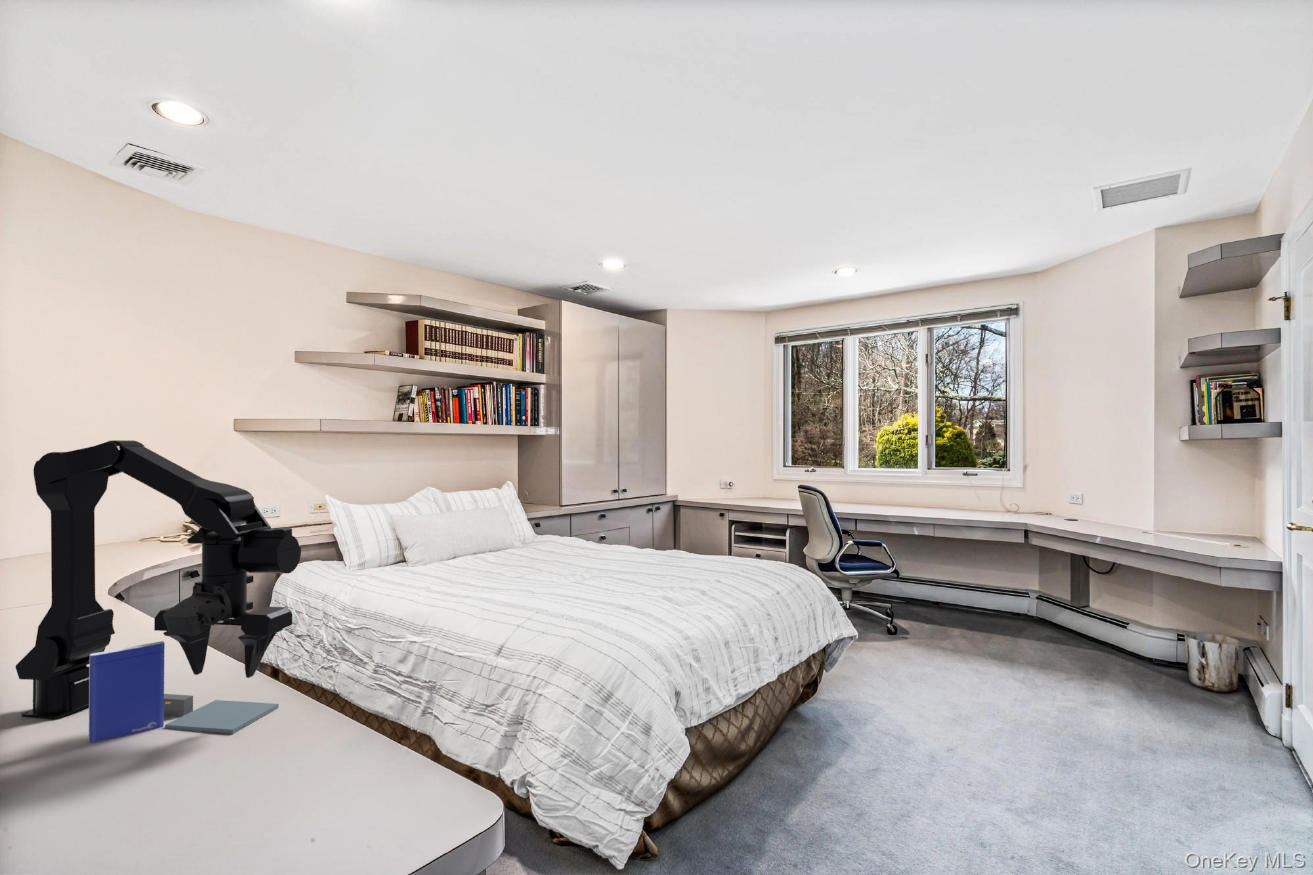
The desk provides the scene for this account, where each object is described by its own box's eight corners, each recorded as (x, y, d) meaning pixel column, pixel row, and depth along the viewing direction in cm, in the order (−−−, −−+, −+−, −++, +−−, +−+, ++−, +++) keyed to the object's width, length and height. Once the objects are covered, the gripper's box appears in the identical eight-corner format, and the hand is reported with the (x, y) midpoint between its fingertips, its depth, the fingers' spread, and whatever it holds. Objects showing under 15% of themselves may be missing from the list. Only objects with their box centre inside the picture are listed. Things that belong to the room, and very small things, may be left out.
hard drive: (164, 727, 93) (164, 643, 93) (89, 747, 87) (90, 656, 87) (162, 724, 94) (163, 640, 94) (88, 743, 88) (89, 653, 88)
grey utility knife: (114, 712, 98) (114, 696, 98) (125, 707, 100) (126, 691, 100) (182, 716, 96) (182, 700, 96) (192, 711, 98) (193, 695, 98)
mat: (164, 728, 92) (164, 724, 92) (215, 703, 101) (215, 699, 101) (233, 733, 91) (233, 729, 91) (278, 707, 100) (278, 703, 100)
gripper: (119, 582, 89) (117, 692, 89) (238, 586, 87) (237, 700, 87) (187, 566, 100) (186, 665, 100) (295, 570, 98) (294, 671, 98)
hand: (223, 675), depth 96 cm, fingers open, 8 cm apart
